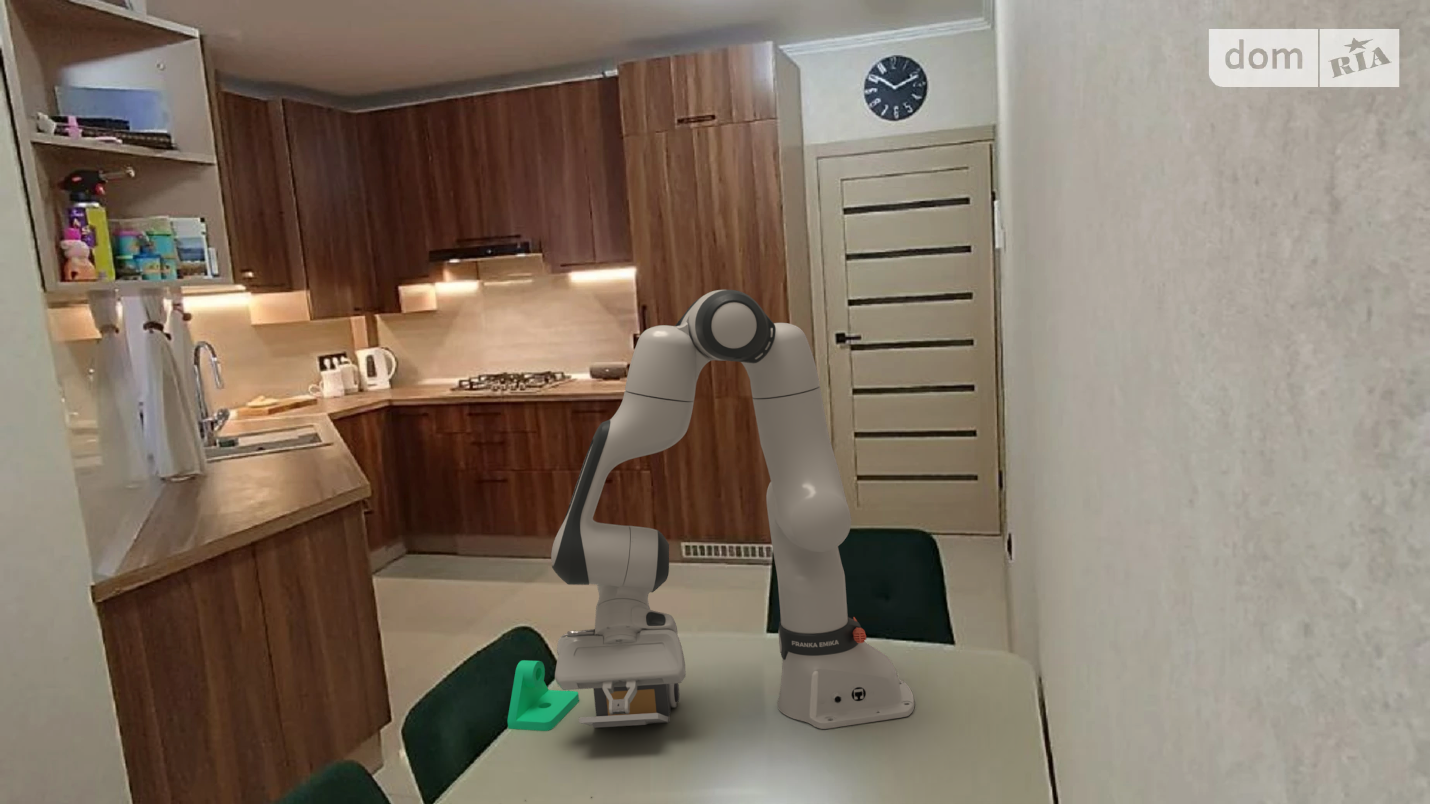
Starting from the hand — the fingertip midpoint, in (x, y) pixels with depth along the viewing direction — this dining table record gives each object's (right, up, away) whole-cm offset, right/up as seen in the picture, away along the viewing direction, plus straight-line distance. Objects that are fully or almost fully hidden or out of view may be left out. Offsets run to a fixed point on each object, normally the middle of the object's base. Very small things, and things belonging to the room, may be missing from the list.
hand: (619, 713), depth 139 cm
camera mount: (-14, -7, +17) cm, 23 cm away
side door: (+1, -5, +11) cm, 12 cm away
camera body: (+1, -6, +16) cm, 17 cm away
